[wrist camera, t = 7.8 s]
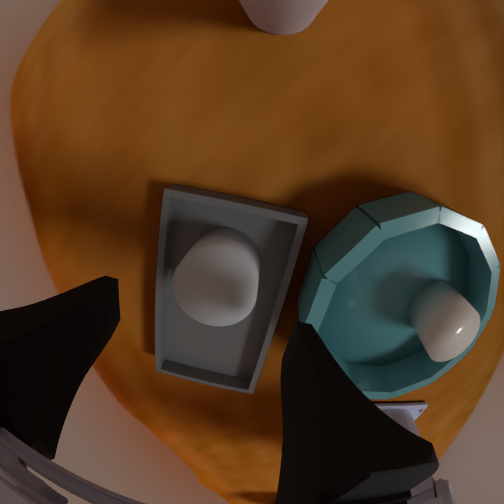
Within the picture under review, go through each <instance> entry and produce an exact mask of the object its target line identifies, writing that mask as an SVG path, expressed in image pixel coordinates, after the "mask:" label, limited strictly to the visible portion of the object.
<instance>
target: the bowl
mask: <svg viewBox="0 0 504 504" xmlns="http://www.w3.org/2000/svg"><path fill="white" fill-rule="evenodd" d="M358 207H359V209H357V208H356V207H355V208H354V209H353V210H352V211H351V212H350V213H349V214H348V215H347V216H346V217H345V218H344V219H343V220H342V221H341V222H340V223H339V224H338V225H336V226H335V227H334V228H333V229H332V230H331V231H330V232H329V233H328V234H327V235H326V236H325V237H324V238H323V239H322V240H321V241H320V242H319V243H318V244H317V245H316V246H315V247H314V248H315V250H312V253H311V256H310V259H309V262H308V266H307V269H306V272H305V275H304V278H303V281H302V284H301V287H300V290H299V293H298V296H297V306H298V314H299V322H303V323H309V324H312V325H313V327H314V328H315V330H316V332H317V333H318V335H319V336H320V338H321V339H322V341H323V342H324V344H325V345H326V347H327V348H328V350H329V351H330V353H331V354H332V356H333V357H334V359H335V360H336V361H337V363H338V364H339V365H340V367H341V368H342V369H343V371H344V372H345V373H346V374H347V376H348V377H349V378H350V379H351V381H352V382H353V383H354V384H355V385H356V386H357V387H358V388H359V389H360V390H361V391H362V393H363V394H364V395H365V396H366V397H367V398H368V399H388V398H389V397H390V399H391V398H394V397H397V396H400V395H403V394H405V393H408V392H411V391H413V390H416V389H419V388H421V387H424V386H426V385H428V384H431V381H432V382H434V381H435V380H437V379H438V378H439V377H440V376H442V375H443V374H444V373H445V372H447V371H448V370H449V369H450V368H451V367H453V366H454V365H455V364H456V363H457V362H459V361H460V360H461V359H462V358H463V357H464V356H465V355H466V354H468V353H467V351H470V350H471V348H472V347H473V345H474V344H475V342H476V340H477V339H478V337H479V336H480V334H481V332H482V331H483V329H484V327H485V326H486V324H487V322H488V320H489V318H490V317H491V315H492V313H493V312H492V311H493V310H494V306H495V300H496V294H497V287H498V280H499V272H500V267H499V265H500V264H499V261H498V258H497V256H496V253H495V251H494V248H493V246H492V243H491V241H490V239H489V236H488V234H487V232H486V230H485V227H484V226H482V224H480V223H478V222H476V221H475V220H473V219H471V218H469V217H467V216H465V215H463V214H461V213H459V212H457V211H455V210H453V209H451V208H449V207H447V206H444V205H442V204H440V203H437V202H435V201H432V200H430V199H428V198H425V197H422V196H420V195H417V194H415V193H412V192H411V193H410V192H406V193H402V194H398V195H395V196H391V197H387V198H383V199H379V200H376V201H372V202H368V203H365V204H361V205H358ZM437 280H444V281H448V282H449V283H451V284H452V285H453V286H454V287H455V288H456V290H457V291H458V292H459V293H460V294H461V295H462V296H463V297H464V298H465V299H466V300H467V301H468V302H469V303H470V304H471V306H472V307H473V308H474V309H475V310H476V311H477V312H478V314H479V316H480V327H479V330H478V332H477V335H476V336H475V338H474V340H473V341H472V343H471V344H470V345H469V346H468V347H467V348H466V349H465V350H464V351H463V352H462V353H461V354H459V355H458V356H456V357H455V358H453V359H451V360H448V361H444V362H436V361H434V360H432V359H431V358H430V356H429V355H428V353H427V351H426V349H425V348H424V346H423V344H422V342H421V341H420V339H419V337H418V335H417V334H416V332H415V330H414V329H413V327H412V325H411V324H410V322H409V319H408V311H409V307H410V304H411V302H412V300H413V299H414V297H415V296H416V294H417V293H418V292H419V291H420V290H421V289H422V288H423V287H425V286H426V285H428V284H429V283H431V282H434V281H437Z"/></svg>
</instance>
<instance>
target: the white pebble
mask: <svg viewBox="0 0 504 504" xmlns="http://www.w3.org/2000/svg"><path fill="white" fill-rule="evenodd" d="M259 272H260V254H259V251H258V248H257V246H256V245H255V243H254V242H253V241H252V239H251V238H250V237H249V236H247V235H246V234H245V233H243V232H241V231H239V230H237V229H234V228H229V227H218V228H213V229H211V230H208V231H206V232H205V233H203V234H202V235H201V236H200V237H199V238H198V239H197V240H196V242H195V243H194V245H193V246H192V247H191V249H190V250H189V251H188V253H187V254H186V256H185V257H184V258H183V260H182V261H181V263H180V264H179V265H178V267H177V268H176V270H175V272H174V275H173V280H172V289H173V294H174V297H175V299H176V301H177V303H178V305H179V306H180V307H181V309H182V310H183V311H184V312H185V313H186V314H187V315H188V316H190V317H191V318H193V319H194V320H196V321H198V322H200V323H203V324H206V325H211V326H228V325H232V324H235V323H238V322H239V321H241V320H243V319H244V318H245V317H247V316H248V315H249V314H250V312H251V311H252V309H253V307H254V306H255V303H256V298H257V290H258V281H259Z"/></svg>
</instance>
